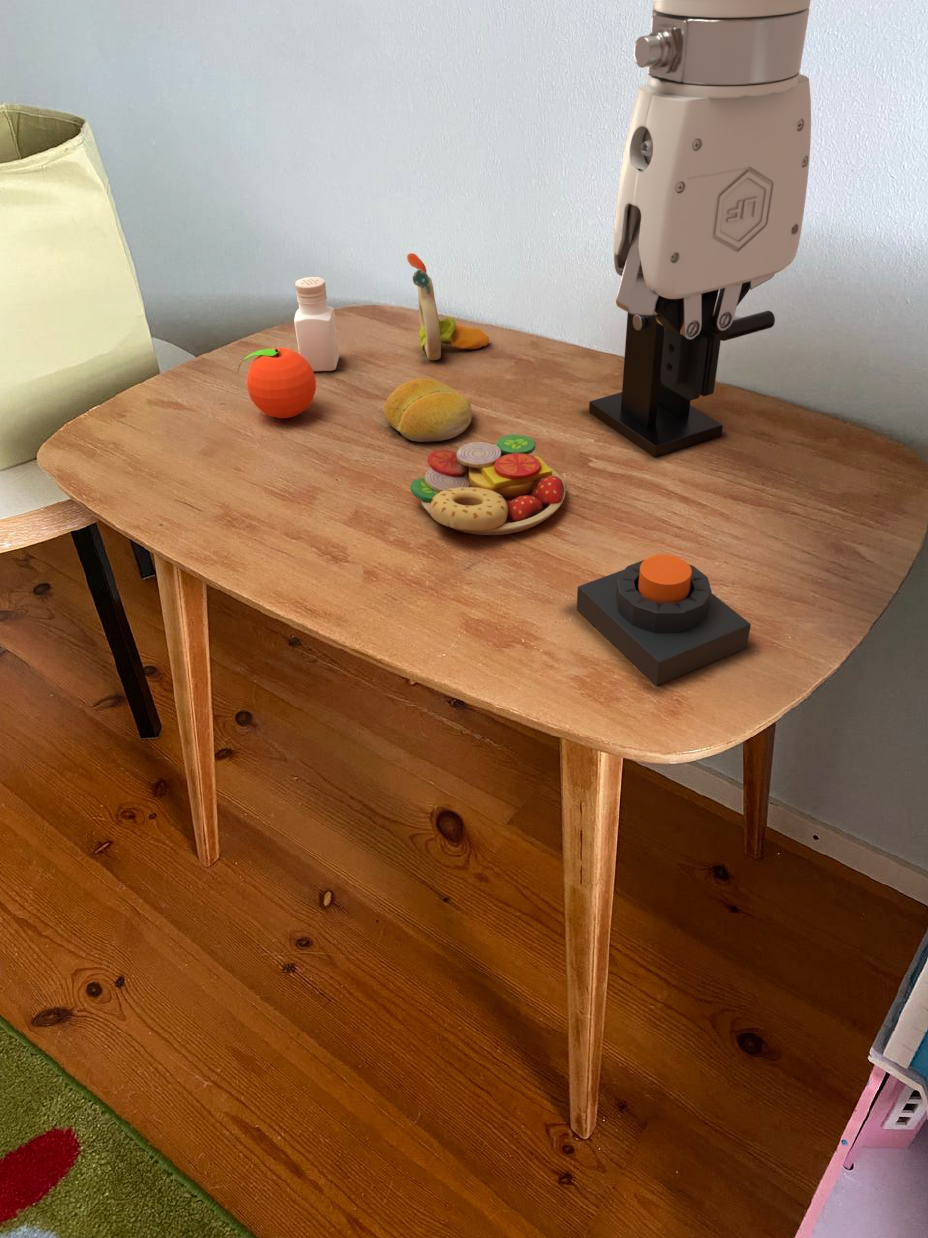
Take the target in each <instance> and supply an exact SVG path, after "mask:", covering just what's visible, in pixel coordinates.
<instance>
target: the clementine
mask: <svg viewBox="0 0 928 1238" xmlns="http://www.w3.org/2000/svg"><path fill="white" fill-rule="evenodd" d="M251 357H256V358H255V359H254V360H253V361H252V363H251V364H250V366H249V368H248V372H247V375H246V387H247V392H248V395H249V398H250V399H251V401H252V403H253V404H254V405H255V407H256V408H257V409H259V410H260V411H261V412H262V413H264V414H266V415H268V416H270V417H273V418H275V419H276V418H277V419H289V418H293V417H296V416H298V415H300V414H301V413H303V412H304V411H305V410H307V409H308V407H309V406H310V405H311V404H312V402H313V399H314V397H315V394H316V389H317V379H316V376H315V371H313V369H312V367H311V366H310V364H309V362H308V361H307V360H306V359H305V358H304V357H302V356H301V355H300V354H299V352H297V351H294V350H292V349H290V348H286V347H273V348H265V349H259V350H255V351H254V352H252V353H250V354H248V355H247V356H245V357H244V358H243V360H242V361H241V362H240V363H239V364H238V369H237V374H239V371H240V367H241V364H242V363H243V362H244V361H245V360H247V359H249V358H251Z"/></svg>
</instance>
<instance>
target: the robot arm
mask: <svg viewBox="0 0 928 1238" xmlns="http://www.w3.org/2000/svg"><path fill="white" fill-rule="evenodd" d="M652 1H653V2H652V10H651V23H650V33H649V34H648V35H642V36H639V37H638V38H637V39H636V40H635V43H634V47H633V58H634V61H635V64H636V65H637V67H639V68H641V69H643V68H647V77H646V78H647V79H646V80H647V81H646V83H644V84H641V85H639V86H638V89H637V92H636V96H635V100H634V102H633V103H634V104H633V108H632V111H631V116H630V119H629V125H628V128H627V129H628V130H627V134H626V138H625V144H624V148H623V149H624V150H623V155H622V161H621V168H620V175H619V180H618V181H619V182H618V188H617V189H618V190H617V198H616V206H615V217H614V218H615V219H614V230H613V265H614V270H615V272H616V273H617V275H619V276H620V277H621V279H620V283H619V287H618V291H617V295H616V299H615V303H616V306H617V307H618V308H619V309H621V310H623V311H625V312H627V314H628V313H630V314H633V315H654V316H655V317H656V320H657V322H658V323H659V324H661V325H663V326H664V327H665V334H664V344H663V355H662V365H661V382H662V384H663V385H664V386H666V387H668V388H669V389H671V390H673V391H674V392H676V393H678V394H679V395H681V396H682V397H684V398H686V399H687V400H690V402H691V401H695V400H697V399H699V398H700V397H701V396H702V397H707V396H710V395H714V392H715V386H716V378H717V370H718V364H719V355H720V348H721V341H722V340H721V334H722V333H721V331H724V330H726V329H728V328H729V327H730V326H731V324H732V322H733V319H734V317H735V315H736V311H737V308H738V306H739V305H740V303H741V302H742V301H743V299H744V298H745V297H746V296H747V294H748V293H749V291H750V290H751V291H752V290H753V289H755V288H757V287H759V286H761V285H762V284H764V283H766V282H768V281H770V280H771V279H772V278H774V276H775V275H776V274H778V273H780V272H781V271H784V269H786V268H788V267H789V266H790V265H791V264H792V263H793V262H794V260H795V258H796V256H797V253H798V248H799V244H800V240H801V233H802V228H803V221H804V215H805V214H804V213H805V208H806V207H805V206H806V199H807V190H808V180H809V169H810V159H811V158H810V155H811V140H812V139H811V138H812V99H811V87H810V86H811V85H810V78H809V77H808V76H806V75H804V74H800V71H801V66H802V59H803V54H804V49H805V48H804V47H805V41H806V34H807V28H808V21H809V17H810V16H809V15H810V6H811V1H812V0H652ZM677 299H679V301H678V300H677Z"/></svg>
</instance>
